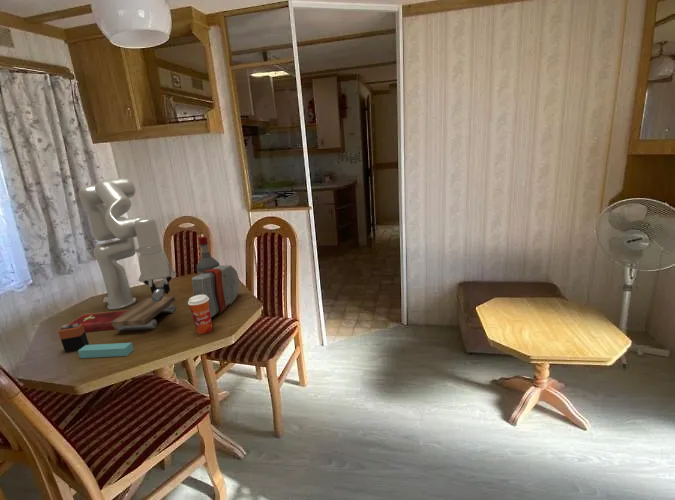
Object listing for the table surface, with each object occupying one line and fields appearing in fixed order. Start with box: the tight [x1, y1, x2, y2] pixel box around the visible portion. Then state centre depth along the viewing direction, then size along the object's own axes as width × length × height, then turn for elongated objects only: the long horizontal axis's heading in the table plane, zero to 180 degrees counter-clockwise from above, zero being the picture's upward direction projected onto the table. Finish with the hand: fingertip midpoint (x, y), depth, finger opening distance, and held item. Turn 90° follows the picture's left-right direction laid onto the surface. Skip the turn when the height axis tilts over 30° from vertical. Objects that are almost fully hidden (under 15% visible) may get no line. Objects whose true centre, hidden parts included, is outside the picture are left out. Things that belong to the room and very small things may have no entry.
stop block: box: [77, 342, 134, 359], centre depth 132 cm, size 18×4×3 cm, turn 86°
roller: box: [150, 279, 166, 302], centre depth 145 cm, size 15×4×4 cm, turn 15°
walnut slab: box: [111, 295, 176, 327], centre depth 157 cm, size 14×24×2 cm, turn 176°
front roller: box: [117, 318, 158, 332], centre depth 151 cm, size 15×4×4 cm, turn 86°
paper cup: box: [187, 295, 213, 335], centre depth 142 cm, size 8×8×14 cm
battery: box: [57, 323, 90, 353], centre depth 138 cm, size 4×7×10 cm, turn 103°
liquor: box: [196, 236, 221, 276], centre depth 175 cm, size 9×9×30 cm
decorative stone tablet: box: [191, 265, 240, 318], centre depth 162 cm, size 19×6×30 cm
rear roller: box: [158, 304, 176, 315], centre depth 165 cm, size 15×4×4 cm, turn 86°
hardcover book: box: [67, 309, 129, 333], centre depth 158 cm, size 12×21×4 cm, turn 91°
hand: (161, 293), depth 146 cm, fingers closed on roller, 3 cm apart
